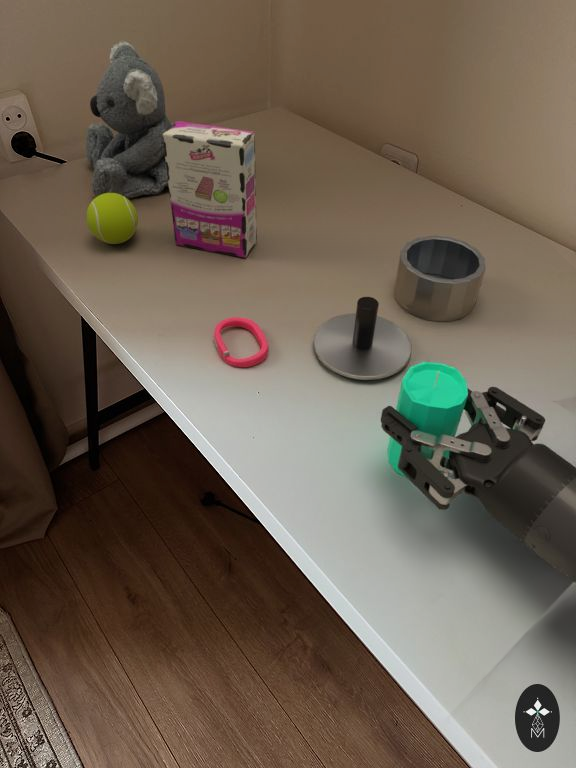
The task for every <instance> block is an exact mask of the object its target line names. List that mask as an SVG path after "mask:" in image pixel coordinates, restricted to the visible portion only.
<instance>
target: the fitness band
mask: <svg viewBox="0 0 576 768" xmlns="http://www.w3.org/2000/svg"><path fill="white" fill-rule="evenodd" d="M230 327H239V328H243V329H246V330H248V331H250V332H251V333H252V334H253V335H254V336H253V337H255V339H256V341H257V343H258V344H259V346H260V350H259V351H258V352H257V353H255V354H253V355H251V356H249V357H244V358H237V357H236V358H235V357H234V356H232V355H230V351H229V349H228V347H227V345H226V344H225V342H224V340H223V338H222V335H221V333H222V331H223V330H224V329H226V328H230ZM212 338H213V339H212V340H213V344H214V345H215V347H216V349H217V352H218V353H219V355H220V357H221V358H222V360H223V361H225V362H226V363H227V364H229V365H231V366H234V367H237V368H247V367H253V366H256V365H259V364H261V363H262V362H263V361H264V360H265V359H266V358H267V356H268V355H269V342H268V338H267V337H266V335H265V333H264V332H263V330H262V328H261V327H260V326H259V324H257V323H256V322H255V321H254V320H252V319H250V318H246V317H242V316H241V317H239V316H233V317H227V318H225V319H223V320H221V321H220V322H218V323H217V324H216V325H215V328H214V331H213V337H212Z"/></svg>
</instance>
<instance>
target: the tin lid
mask: <svg viewBox="0 0 576 768" xmlns="http://www.w3.org/2000/svg"><path fill="white" fill-rule="evenodd" d="M379 305H380V304H379V301H378V300H377V299H376V298H374V297H371V296H362V297H360V298H358V300H357V303H356V309H355V310H356V311H355V312H353V313H351V312H350V313H345V314H341V315H340V314H339V315H337V316H334V317H331V318H330V319H328V320H326V321H325V322H323V323H322V324H321V325H320V326H319V328H318V329H317V330H316V332H315V334H314V338H313V349H314V352H315V355H316V357H317V358H318V360H319V361H320V362H321V363H322V364H323V365H324V366H325V367H326V368H327V369H329V370H331V371H332V372H333V373H336V374H338V375H340V376H343V377H346V378H349V379H355V380H361V381H362V380H363V381H373V380H381V379H385V378H388V377H391V376H393V375H395V374H397V373H399V372H400V371H401V370H402V369H403V368H405V367H406V366H407V364H408V362H409V360H410V358H411V354H412V344H411V340H410V338H409V337H408V334H407V333H406V332H405V331H404V330H403V328H401V326H399V325H398V324H396V323H394V322H393V321H391V320H389V319H387V318H384V317H382V316H379V315H378V311H379Z"/></svg>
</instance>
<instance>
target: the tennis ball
mask: <svg viewBox="0 0 576 768" xmlns="http://www.w3.org/2000/svg"><path fill="white" fill-rule="evenodd" d="M138 218H139V217H138V213H137V210H136V207H135V205H134V204H133V203H132V201H130V199H127V198H126V197H124V196H122V195H120V194H117V193H105V194H101V195H99V196H97V197H96V198H95V197H94V198H93V199H92V200H91V202H89V205H88V207H87V209H86V224H87V226H88V229H89V230H90V232H91V233H92V235H93V236H94V237H95V238H96V239H97V240H99V241H100V242H102V243H106V244H110V245H117V244H122V243H125V242H126V241H128V240H130V239H131V238H132V236H133V235H134V234H135V233H136V231H137V227H138V223H139V222H138V221H139V219H138Z"/></svg>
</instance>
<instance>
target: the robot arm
mask: <svg viewBox="0 0 576 768" xmlns="http://www.w3.org/2000/svg"><path fill="white" fill-rule="evenodd" d="M467 389H468V397H467V400H466V403H465V406H464V409H463V411H464V414H465V415H466V417H467V420H468V422H469V424H470V427H469V429H468V430H467V431H465V432H462V433H459V434H458V435H456V436H455V437H452V436H448V435H445V434H440V435H439V436H435V435H431V434H428V433H425V432H422V431H418V430H417V427H416V426H415V425H414V424H413V423H411V422H410V421H409V420H408V419H406V418H405V417H404V416H403V415H402V414H400V413H399V412H398V411H397V410H396V408H395V407H393V406H392V405H387V406H386V407H384V408H383V409H382V410H381V416H380V423H381V426H380V427H381V429H382V431H384V433H385V434H387V435H388V436H389V437H390V436H391V437H392V438H393V439H394V440H395V441H397V442H398V443H399V444H400V445H401V446H402V449H401V454H400V458H399V462H398V469H399V470H400V471H401V472H402V473H403V474H404V475H405V476H406V477H405V476H404V477H405V478H406V479H408V480H409V481H410V482H411V483H412V484H413V485H414V486H415V487H416V488H417V489H418V490H419V491H420V492H421V494H423V495H424V496H425V497H426V498H427V499H428V500H429V501H430V502H431V503H432V505H434V506H435V507H436V508H438V510H441V511H445V510H448V509H449V508H450V504H451V502H452V500H453V499H456V498H458V497H459V496H460V495H462V494H463V493H464V494H466V495H470V496H472V497H474V498H476V499H477V500H479V501H480V503H481V504H482V506H483V507H484V509H485V511H486V512H487V513H488V514H489V515H490V516H491V517H493V518H494V519H495V520H497V521H498V522H499V523H500V524H501V525H502V526H504V528H506V529H507V530H508V531H510V533H512V534H513V535H514V536H515V537H517V538H518V539H519V540H520V541H521V542H523V544H524V545H526V546H527V547H528V548H530V549H531V550H532V551H533V552H534V553H535V554H537V555H538V556H539V557H541V559H543V560H544V561H545V562H546V563H548V564H549V565H550V566H552V567H553V568H554V569H556V570H557V571H558V572H560V573H562V574H563V575H565V576H566V577H568V578H569V579H571V580H572V581H573V582H575V583H576V466H575V465H573V464H572V463H570V461H568V460H566V459H565V458H563V456H561V455H560V454H558V453H557V452H555V451H554V450H553V449H551V448H550V447H549V446H547V445H545V444H544V443H539V442H538V443H533V442H535V441H537V440H538V438H539V436H540V434H541V433H542V431H543V429H544V425H545V423H546V418H545V417H544V416H543V415H542V414H540V413H539V412H537V411H536V410H534V409H532V408H531V407H529V406H528V405H526V404H525V403H523V402H521V401H519V400H518V399H516V398H514V397H513V396H511V395H510V394H508V393H507V392H505V391H503V390H502V389H501V388H498V387H497V386H489V387H488V388H487V391H483V392H481V391H478V390H471V389H470V388H468V387H467ZM498 404H499V405H501V406H502V407H504V408H505V409H504V408H502V407H501V406H499V405H498ZM505 426H506V427H505ZM422 446H425V447H428V448H431V449H433V450H430V449H427V448H424V447H422ZM446 450H449V451H450V452H449V457H448V458H446V457H444V456H443V452H444V451H446ZM439 470H441V471H442V472H440V471H439ZM450 474H451V475H453V478H452V477H451V476H450Z"/></svg>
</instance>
